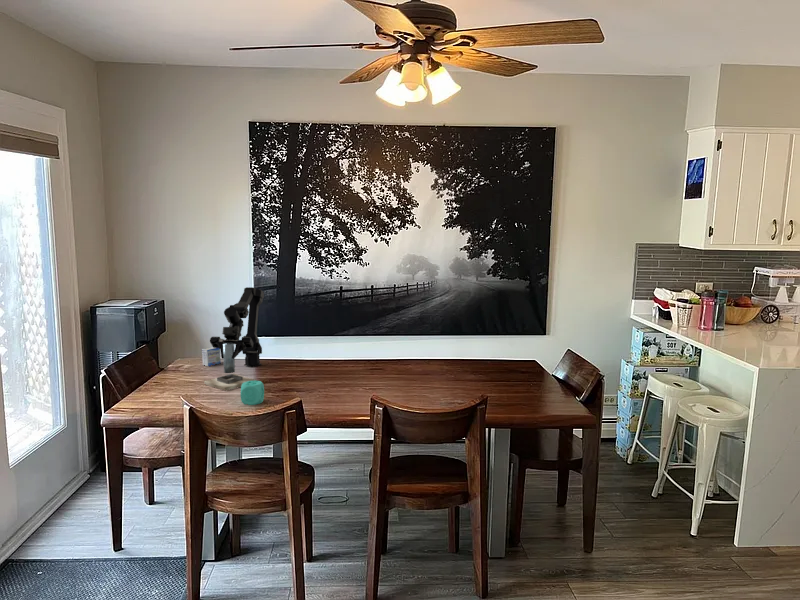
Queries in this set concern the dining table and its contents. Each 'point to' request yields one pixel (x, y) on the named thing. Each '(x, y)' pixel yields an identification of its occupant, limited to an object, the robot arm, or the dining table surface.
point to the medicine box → (211, 356)
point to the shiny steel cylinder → (228, 357)
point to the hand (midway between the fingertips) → (227, 358)
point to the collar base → (228, 381)
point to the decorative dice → (252, 392)
